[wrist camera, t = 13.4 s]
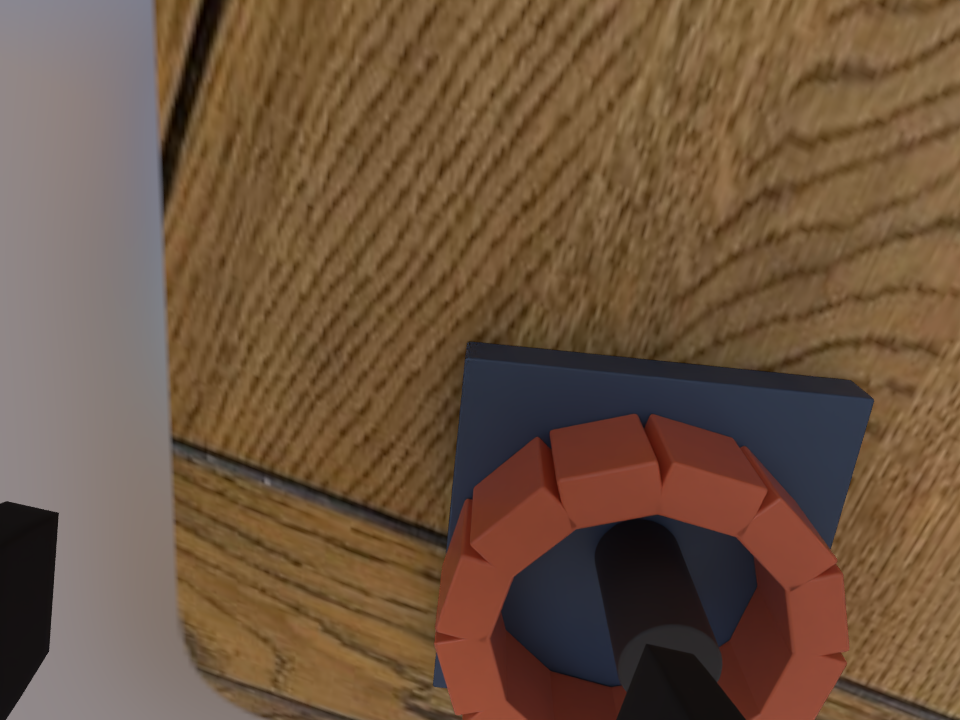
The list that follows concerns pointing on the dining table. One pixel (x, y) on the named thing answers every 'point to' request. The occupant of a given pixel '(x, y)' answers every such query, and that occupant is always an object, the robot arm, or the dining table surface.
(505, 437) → the ring stacking peg
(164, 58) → the dining table surface
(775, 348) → the dining table surface
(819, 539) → the segmented red ring
